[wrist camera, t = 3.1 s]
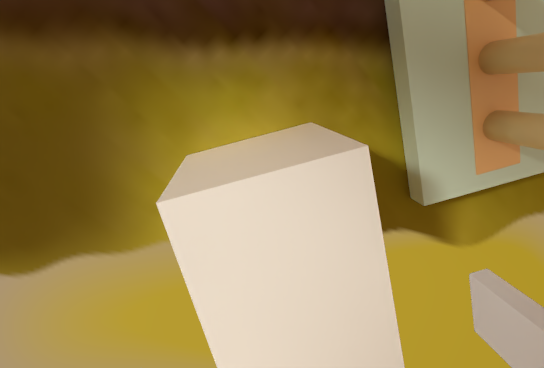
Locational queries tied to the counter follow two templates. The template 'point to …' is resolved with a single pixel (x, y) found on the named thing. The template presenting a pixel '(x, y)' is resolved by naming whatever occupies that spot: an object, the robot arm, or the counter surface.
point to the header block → (468, 92)
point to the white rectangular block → (285, 252)
